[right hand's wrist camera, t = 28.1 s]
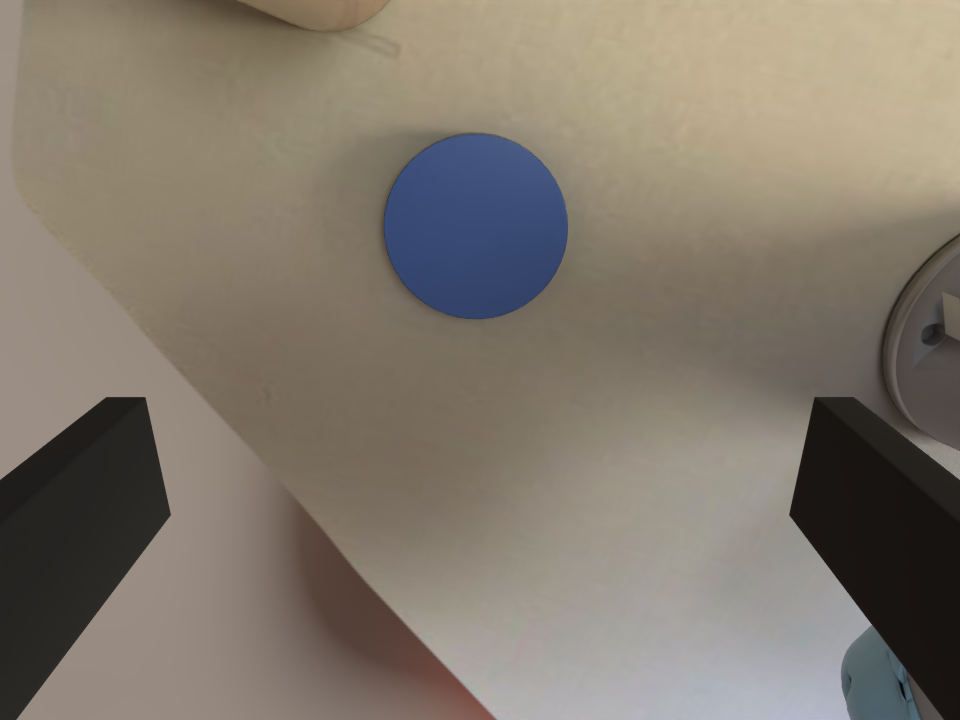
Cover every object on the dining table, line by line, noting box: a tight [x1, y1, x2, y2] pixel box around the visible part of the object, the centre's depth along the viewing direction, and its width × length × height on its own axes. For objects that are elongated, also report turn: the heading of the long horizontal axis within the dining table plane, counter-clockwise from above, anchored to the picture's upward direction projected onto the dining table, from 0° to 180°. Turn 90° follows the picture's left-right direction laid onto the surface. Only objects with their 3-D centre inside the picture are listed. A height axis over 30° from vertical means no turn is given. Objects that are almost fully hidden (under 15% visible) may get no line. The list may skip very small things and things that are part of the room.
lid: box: [384, 133, 568, 319], centre depth 36 cm, size 10×10×2 cm
